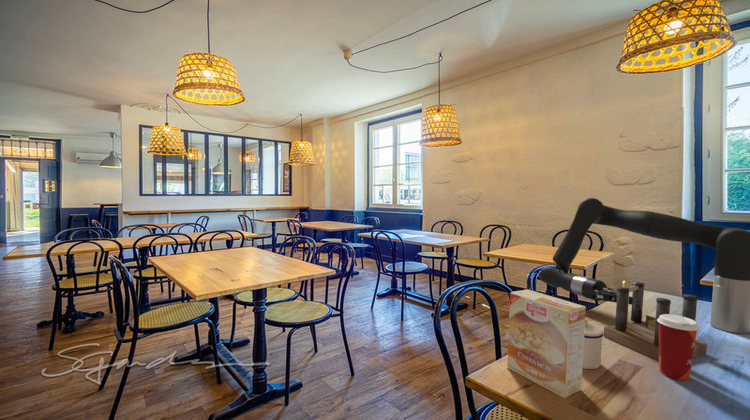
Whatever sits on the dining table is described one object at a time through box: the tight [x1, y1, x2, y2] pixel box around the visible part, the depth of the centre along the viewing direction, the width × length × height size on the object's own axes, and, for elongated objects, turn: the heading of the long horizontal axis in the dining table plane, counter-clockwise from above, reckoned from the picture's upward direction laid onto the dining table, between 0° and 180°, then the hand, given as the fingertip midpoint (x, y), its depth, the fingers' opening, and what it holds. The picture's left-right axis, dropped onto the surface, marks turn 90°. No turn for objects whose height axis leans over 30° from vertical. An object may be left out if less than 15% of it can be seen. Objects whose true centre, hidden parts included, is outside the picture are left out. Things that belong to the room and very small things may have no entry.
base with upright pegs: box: [603, 286, 708, 361], centre depth 101 cm, size 17×17×16 cm
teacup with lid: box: [582, 317, 604, 370], centre depth 91 cm, size 12×9×12 cm
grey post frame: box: [621, 280, 646, 323], centre depth 108 cm, size 10×3×14 cm, turn 120°
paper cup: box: [657, 313, 700, 382], centre depth 84 cm, size 8×8×14 cm
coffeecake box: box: [506, 288, 587, 399], centre depth 81 cm, size 15×7×20 cm, turn 31°
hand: (637, 302), depth 112 cm, fingers closed
